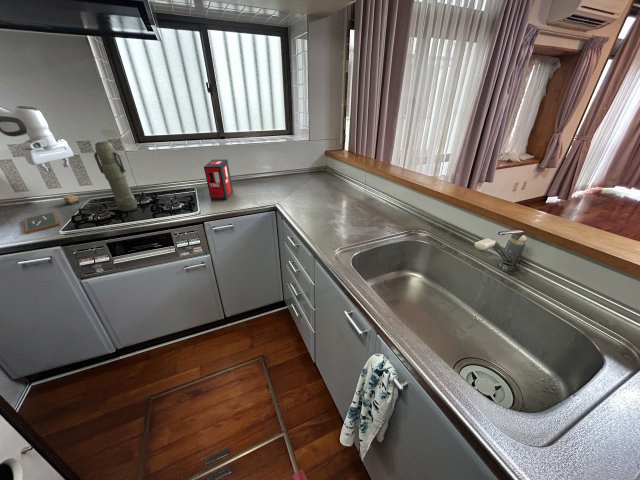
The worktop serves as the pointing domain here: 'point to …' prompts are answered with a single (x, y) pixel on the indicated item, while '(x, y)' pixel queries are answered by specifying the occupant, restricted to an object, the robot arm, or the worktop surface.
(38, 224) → the board
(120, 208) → the thermos
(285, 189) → the worktop surface
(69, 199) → the eraser
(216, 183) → the cleaning product box
